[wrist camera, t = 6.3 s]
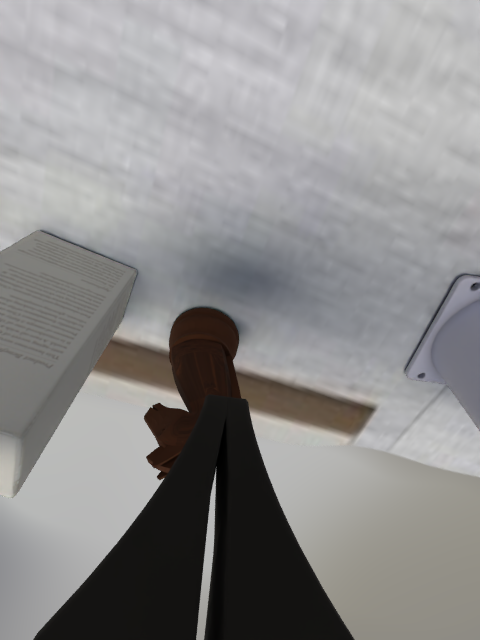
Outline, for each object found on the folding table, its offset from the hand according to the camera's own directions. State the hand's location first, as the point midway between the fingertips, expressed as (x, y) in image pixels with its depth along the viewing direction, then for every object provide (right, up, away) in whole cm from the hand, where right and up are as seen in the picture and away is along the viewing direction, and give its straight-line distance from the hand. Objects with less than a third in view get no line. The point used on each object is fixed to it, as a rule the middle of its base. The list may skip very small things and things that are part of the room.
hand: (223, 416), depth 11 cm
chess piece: (-2, +2, +11) cm, 12 cm away
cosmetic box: (-9, +6, +9) cm, 14 cm away
